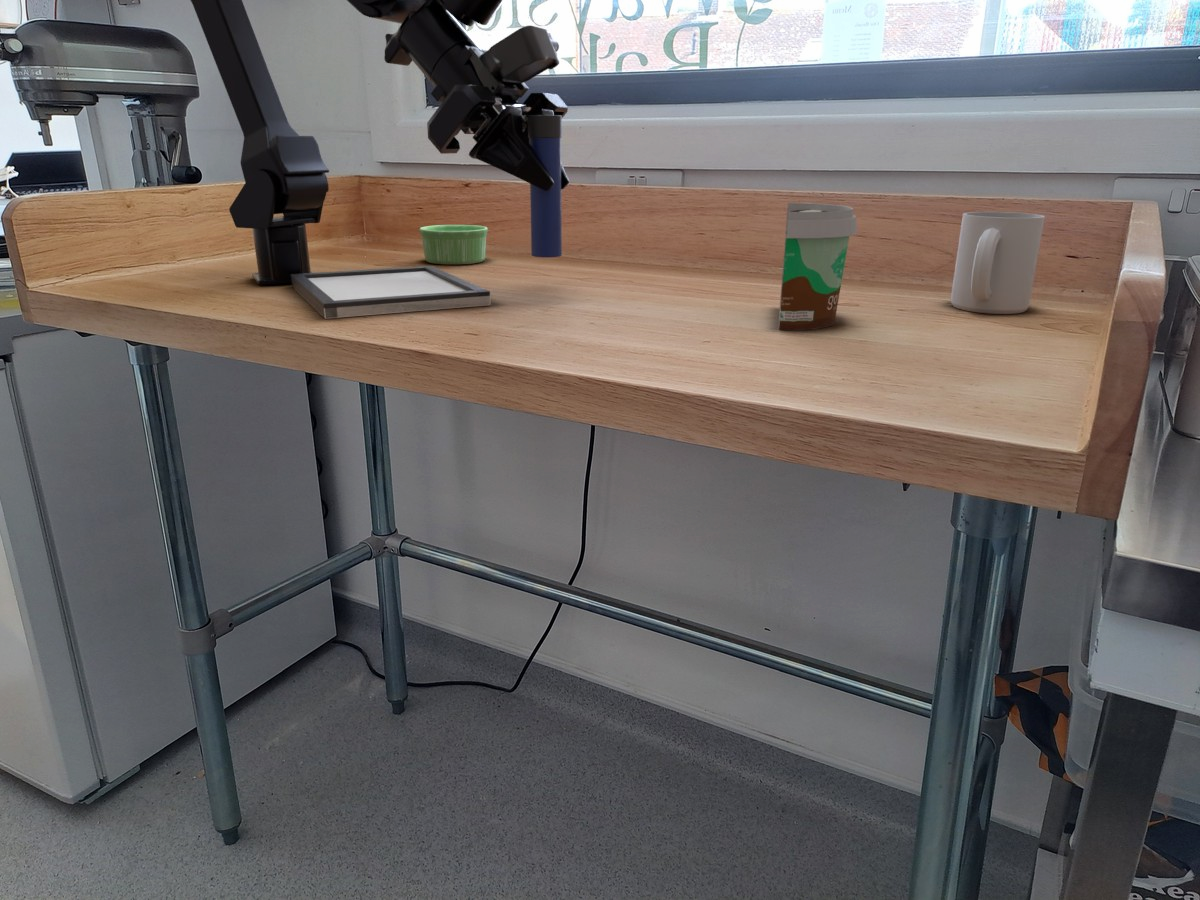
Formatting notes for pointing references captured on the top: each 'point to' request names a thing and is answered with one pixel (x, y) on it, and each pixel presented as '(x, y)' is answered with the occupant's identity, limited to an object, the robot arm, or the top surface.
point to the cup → (996, 261)
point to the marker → (548, 203)
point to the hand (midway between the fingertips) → (558, 186)
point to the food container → (814, 264)
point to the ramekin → (454, 244)
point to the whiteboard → (386, 291)
